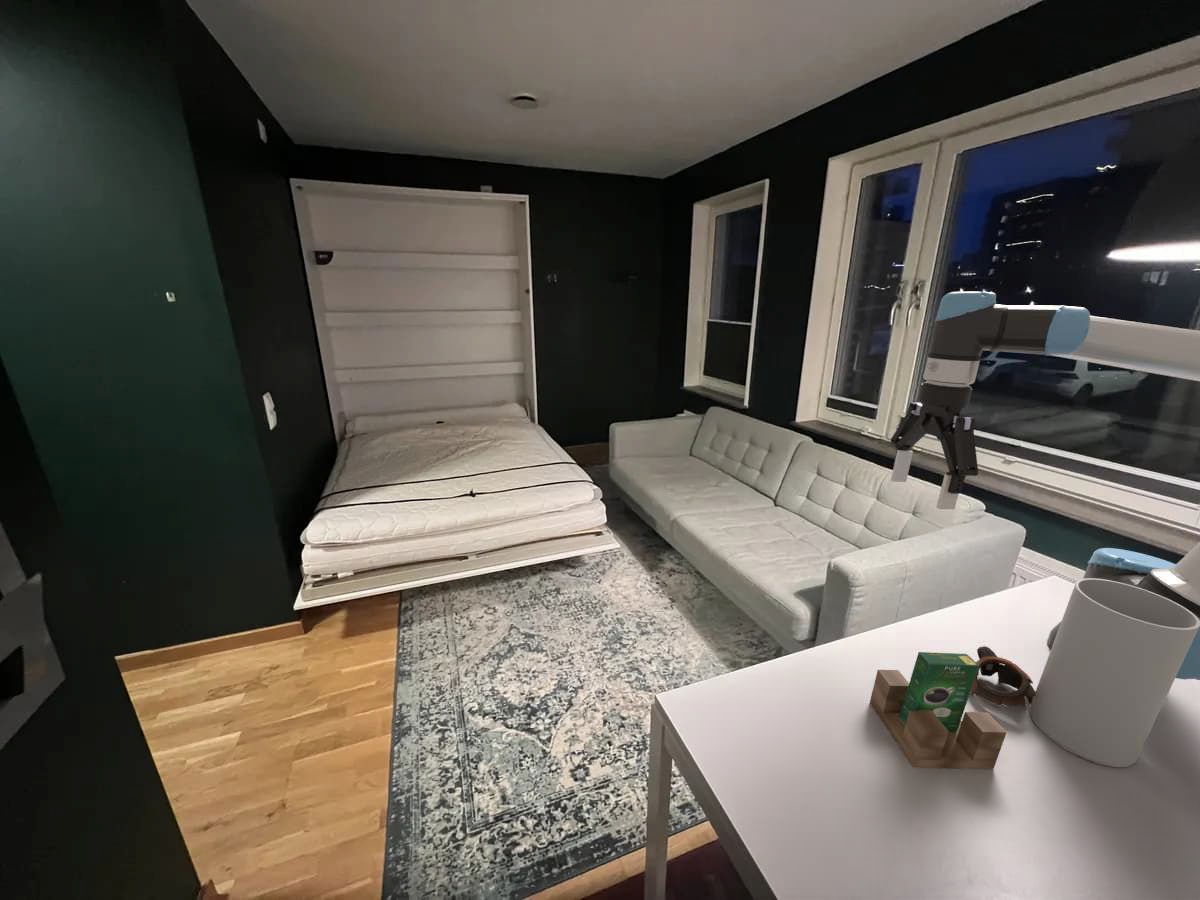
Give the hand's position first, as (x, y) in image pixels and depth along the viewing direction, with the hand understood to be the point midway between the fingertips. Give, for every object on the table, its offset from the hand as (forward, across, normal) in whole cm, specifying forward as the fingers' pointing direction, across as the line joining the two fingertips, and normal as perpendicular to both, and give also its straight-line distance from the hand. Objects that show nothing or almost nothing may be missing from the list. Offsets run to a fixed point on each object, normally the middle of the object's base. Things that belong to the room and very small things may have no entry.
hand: (920, 494), depth 91 cm
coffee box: (+30, +24, -8) cm, 40 cm away
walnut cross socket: (+32, +24, -8) cm, 41 cm away
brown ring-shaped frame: (+32, +16, +10) cm, 37 cm away
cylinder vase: (+32, +24, +17) cm, 44 cm away
